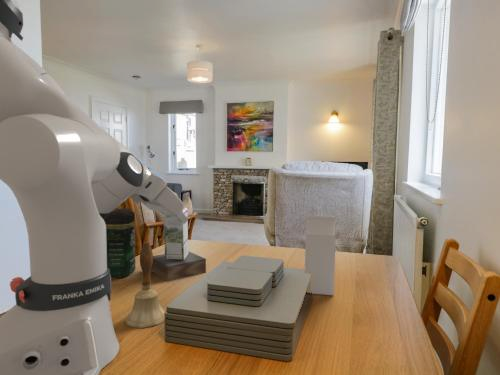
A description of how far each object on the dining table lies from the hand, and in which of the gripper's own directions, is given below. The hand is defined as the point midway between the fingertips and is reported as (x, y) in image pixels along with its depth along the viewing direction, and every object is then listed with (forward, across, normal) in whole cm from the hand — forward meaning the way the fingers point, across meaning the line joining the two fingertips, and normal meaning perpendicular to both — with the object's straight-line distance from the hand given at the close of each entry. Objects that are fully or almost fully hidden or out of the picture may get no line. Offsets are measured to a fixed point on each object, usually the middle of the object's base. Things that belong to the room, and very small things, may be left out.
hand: (177, 218), depth 100 cm
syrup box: (+8, -1, -8) cm, 12 cm away
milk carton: (+28, +33, +4) cm, 44 cm away
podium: (+11, -1, -11) cm, 16 cm away
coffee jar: (+1, -9, -21) cm, 23 cm away
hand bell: (-2, +23, -25) cm, 34 cm away
